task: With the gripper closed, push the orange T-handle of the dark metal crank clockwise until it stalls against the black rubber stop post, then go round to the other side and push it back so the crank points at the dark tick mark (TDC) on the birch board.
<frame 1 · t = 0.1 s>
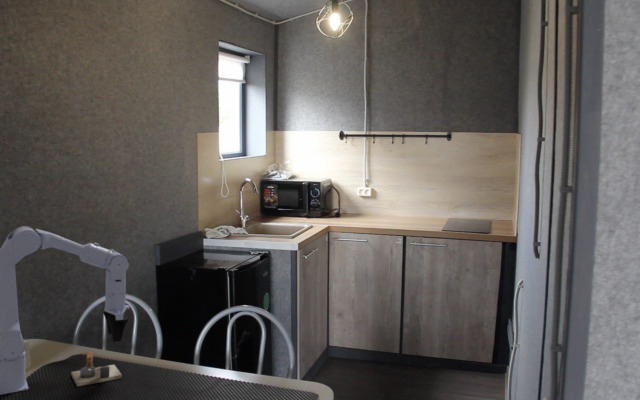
hand: (114, 337, 161), 10 cm above the table, fingers open, 7 cm apart
stop post: (104, 379, 154), resting on board
crank: (88, 364, 157), point 3 cm above the table, hinge at 75.0°
board: (96, 376, 156), on the table
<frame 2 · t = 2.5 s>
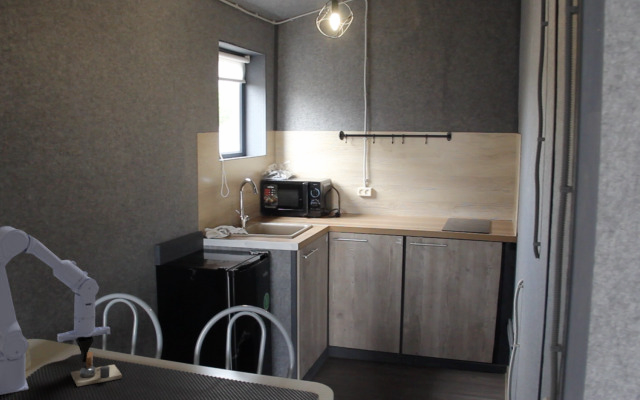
hand: (84, 361, 160), 3 cm above the table, fingers closed, pressing on crank
crank: (88, 364, 157), point 3 cm above the table, hinge at 75.0°, touching gripper
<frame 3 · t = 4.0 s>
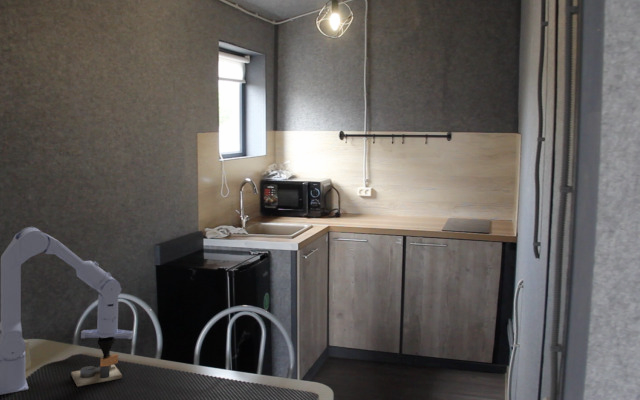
hand: (106, 361, 161), 2 cm above the table, fingers closed, pressing on crank
crank: (99, 365, 157), point 3 cm above the table, hinge at 22.3°, touching gripper
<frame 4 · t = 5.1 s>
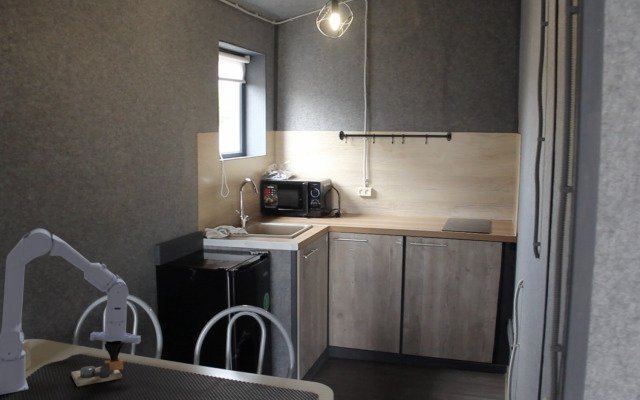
hand: (114, 365, 158), 2 cm above the table, fingers closed, pressing on crank
crank: (101, 367, 155), point 3 cm above the table, hinge at -12.3°, touching gripper, stop post
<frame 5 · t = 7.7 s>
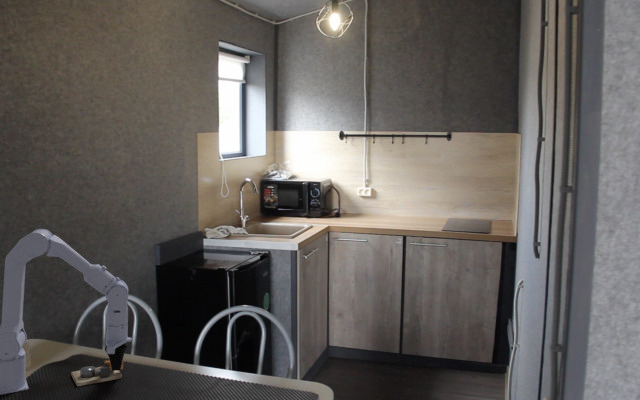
hand: (116, 369, 155), 3 cm above the table, fingers closed, pressing on crank
crank: (101, 367, 155), point 3 cm above the table, hinge at -11.9°, touching gripper
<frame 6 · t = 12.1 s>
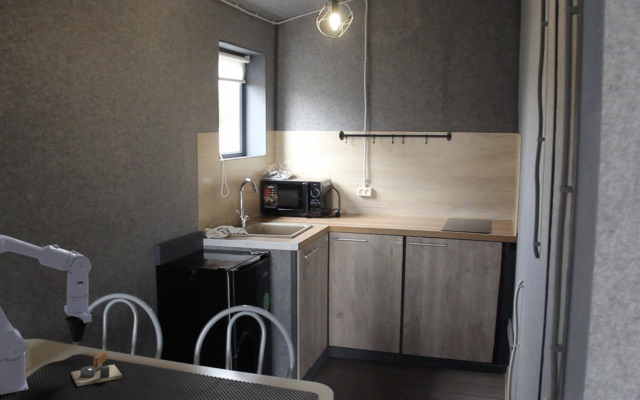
hand: (77, 341, 156), 10 cm above the table, fingers closed
crank: (94, 364, 157), point 3 cm above the table, hinge at 50.5°
at the end: crank at +50° (first picture: +75°); crank touching nothing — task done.
